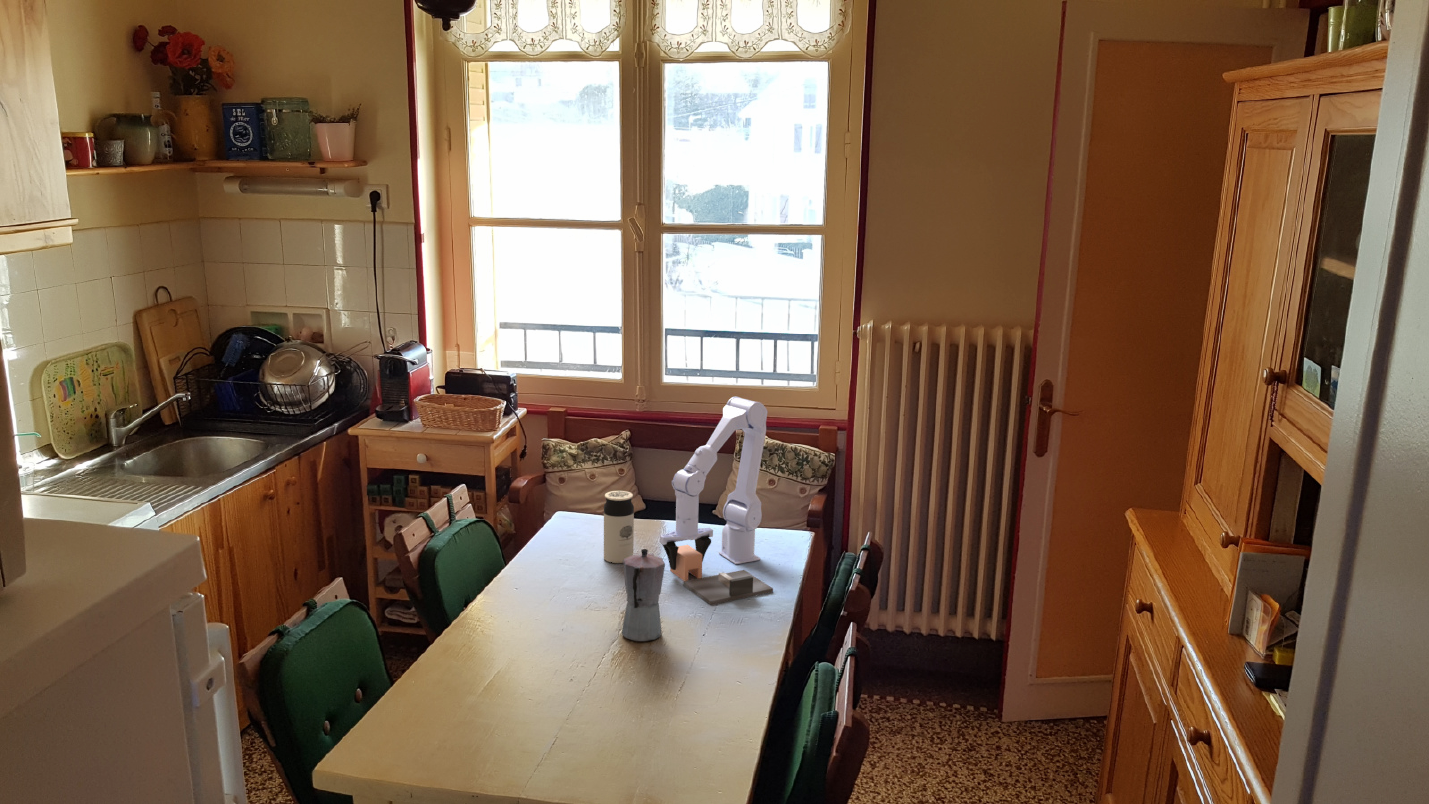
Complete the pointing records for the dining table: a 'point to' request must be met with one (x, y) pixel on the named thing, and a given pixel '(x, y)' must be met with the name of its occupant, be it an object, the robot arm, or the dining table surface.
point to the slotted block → (688, 563)
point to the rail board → (727, 587)
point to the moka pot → (643, 596)
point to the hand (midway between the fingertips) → (686, 566)
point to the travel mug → (618, 526)
